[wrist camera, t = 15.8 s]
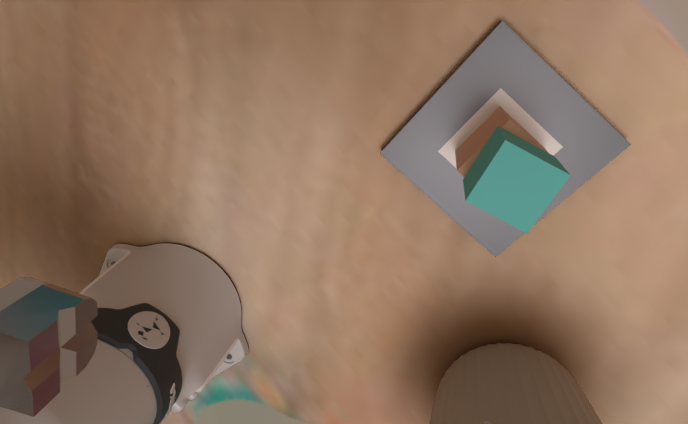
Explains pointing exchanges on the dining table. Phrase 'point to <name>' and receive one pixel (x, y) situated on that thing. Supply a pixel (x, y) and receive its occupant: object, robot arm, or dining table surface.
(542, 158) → the teal block
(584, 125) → the baseplate
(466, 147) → the terracotta block
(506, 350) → the canister
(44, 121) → the dining table surface
